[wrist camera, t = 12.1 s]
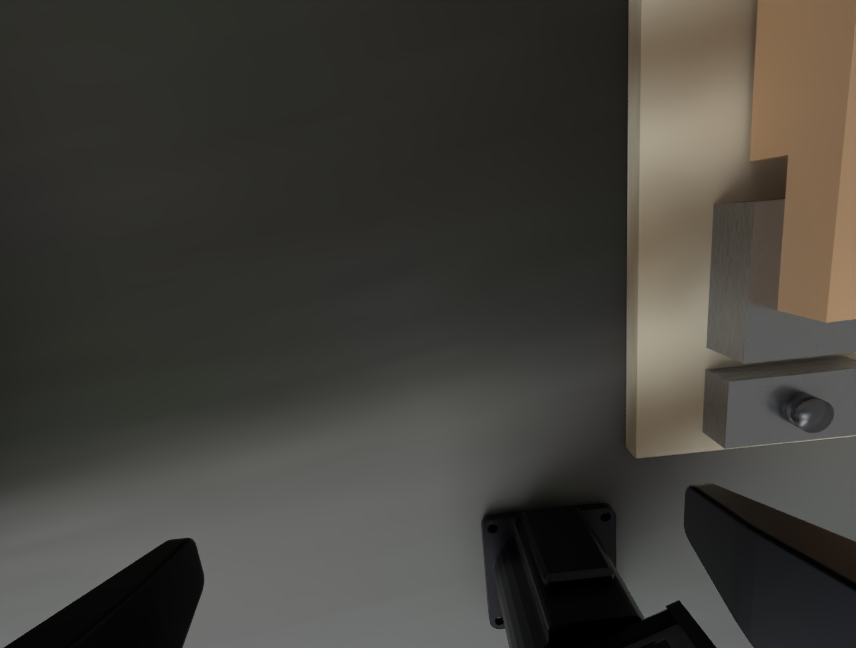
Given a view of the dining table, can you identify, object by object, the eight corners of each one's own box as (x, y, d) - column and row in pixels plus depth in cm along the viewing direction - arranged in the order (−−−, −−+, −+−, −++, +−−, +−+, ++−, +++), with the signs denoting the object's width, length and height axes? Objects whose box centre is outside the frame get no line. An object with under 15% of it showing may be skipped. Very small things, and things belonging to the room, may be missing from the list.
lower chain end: (833, 418, 20) (886, 443, 18) (702, 432, 20) (738, 458, 18) (862, 189, 18) (927, 184, 15) (713, 204, 18) (757, 201, 15)
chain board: (874, 421, 21) (896, 431, 20) (626, 447, 21) (636, 458, 20) (1013, -518, 14) (1059, -575, 13) (631, -480, 14) (647, -535, 13)
